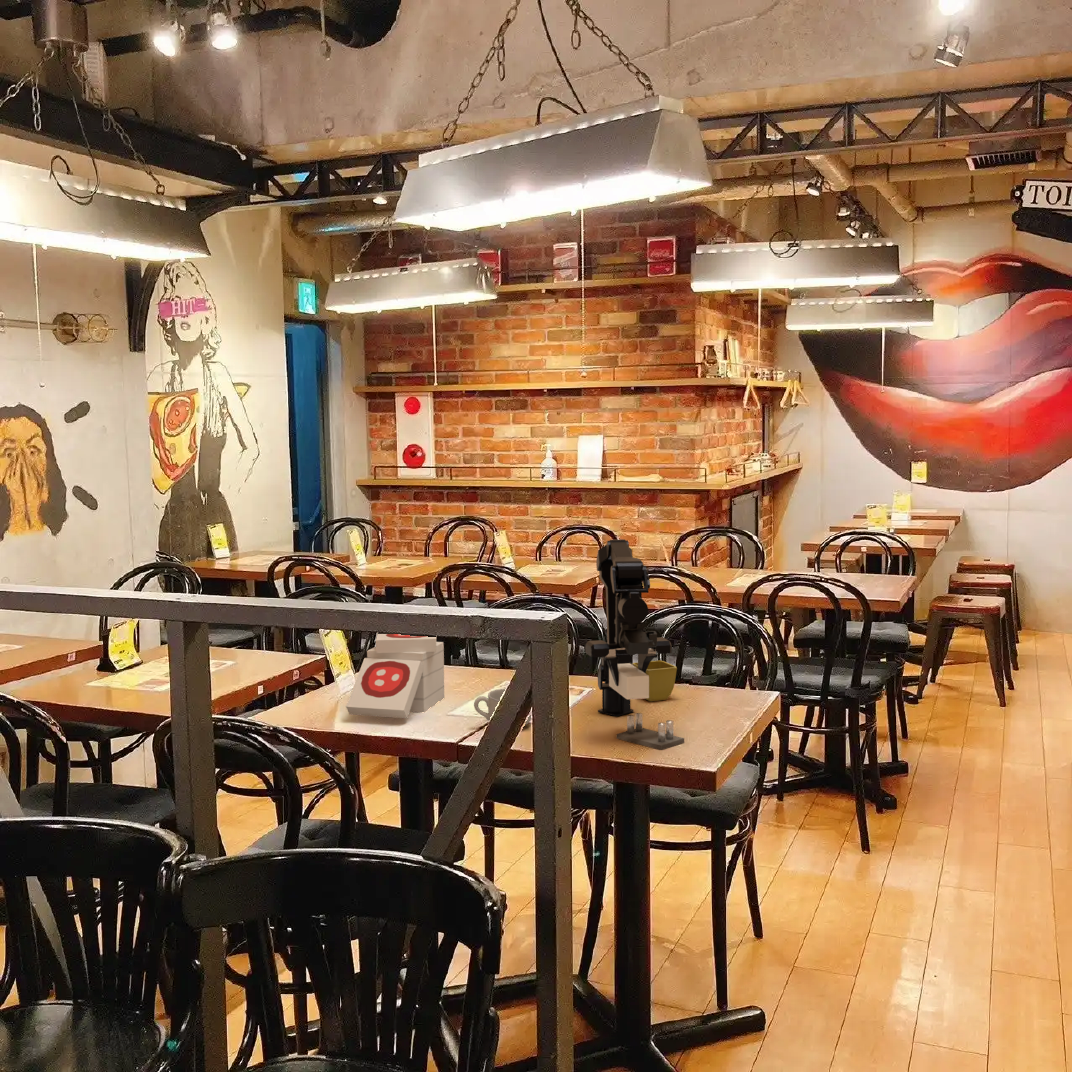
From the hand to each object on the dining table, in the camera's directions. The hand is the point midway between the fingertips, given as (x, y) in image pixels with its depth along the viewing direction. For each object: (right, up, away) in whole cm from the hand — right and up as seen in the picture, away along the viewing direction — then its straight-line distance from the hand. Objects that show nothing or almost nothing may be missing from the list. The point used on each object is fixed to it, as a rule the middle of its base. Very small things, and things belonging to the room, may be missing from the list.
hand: (628, 685), depth 254 cm
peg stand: (+5, -12, -1) cm, 13 cm away
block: (0, -2, 0) cm, 2 cm away
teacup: (-28, -12, +11) cm, 33 cm away
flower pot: (+10, -9, +37) cm, 39 cm away
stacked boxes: (-55, -10, +29) cm, 63 cm away
